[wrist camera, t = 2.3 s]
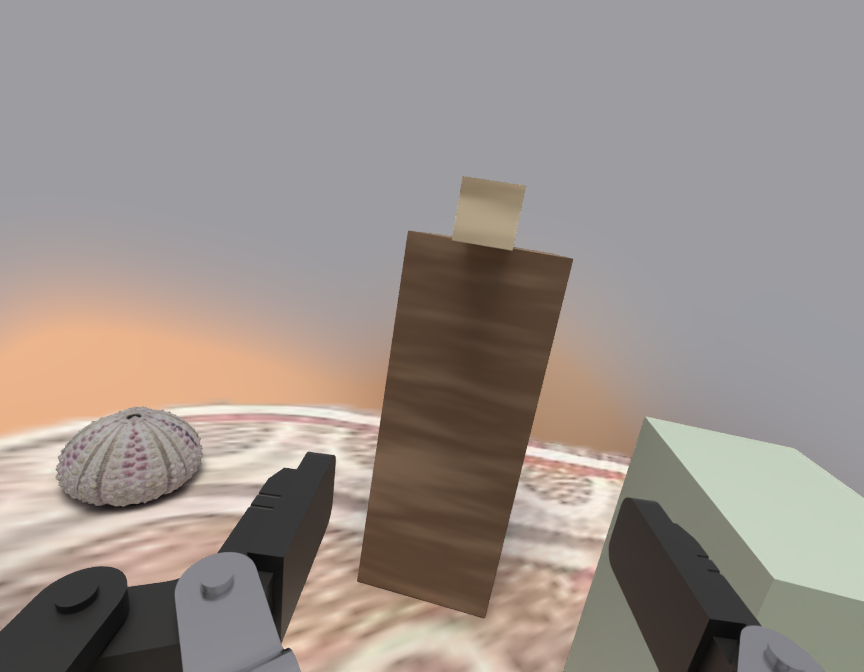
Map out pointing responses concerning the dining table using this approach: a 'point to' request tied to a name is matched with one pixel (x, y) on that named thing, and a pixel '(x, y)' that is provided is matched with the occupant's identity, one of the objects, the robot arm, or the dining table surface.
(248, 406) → the dining table surface
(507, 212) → the oak rod
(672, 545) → the robot arm
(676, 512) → the sage pedestal
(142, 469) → the sea urchin shell
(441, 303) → the walnut pillar
